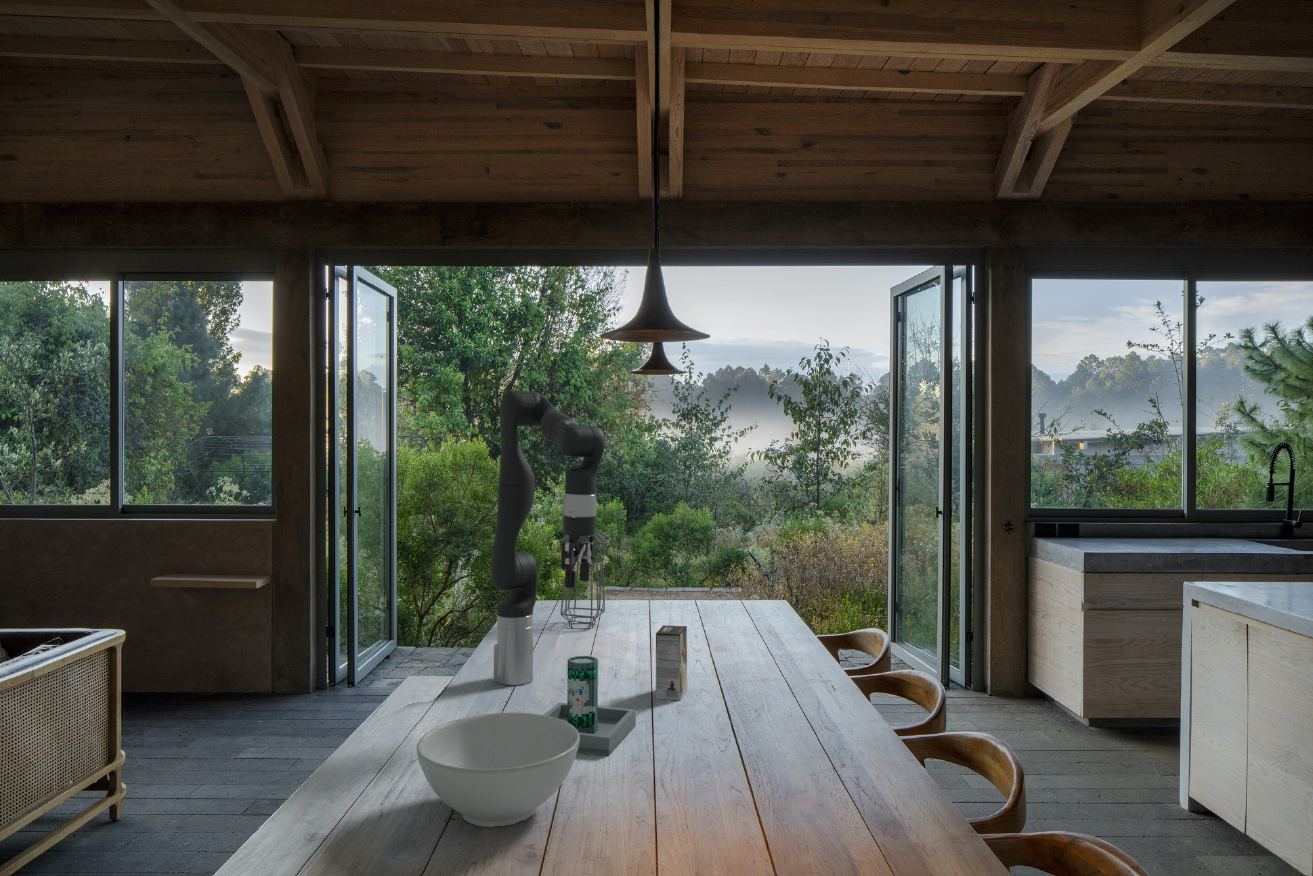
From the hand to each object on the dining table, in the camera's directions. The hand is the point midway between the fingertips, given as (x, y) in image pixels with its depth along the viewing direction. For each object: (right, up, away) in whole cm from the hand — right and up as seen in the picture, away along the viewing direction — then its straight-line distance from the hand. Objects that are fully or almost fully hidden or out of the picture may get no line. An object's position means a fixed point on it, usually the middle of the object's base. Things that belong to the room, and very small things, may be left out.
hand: (577, 584), depth 187 cm
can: (+2, -29, -14) cm, 32 cm away
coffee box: (+22, -30, +15) cm, 40 cm away
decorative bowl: (-8, -29, -49) cm, 58 cm away
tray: (+2, -29, -14) cm, 33 cm away
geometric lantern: (-6, -31, +91) cm, 96 cm away
